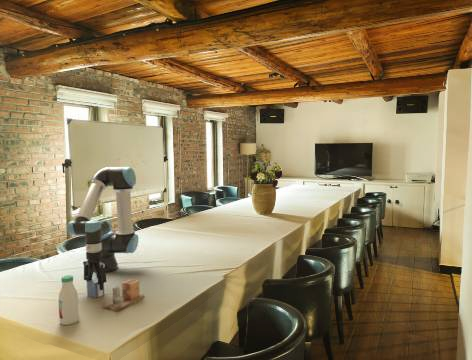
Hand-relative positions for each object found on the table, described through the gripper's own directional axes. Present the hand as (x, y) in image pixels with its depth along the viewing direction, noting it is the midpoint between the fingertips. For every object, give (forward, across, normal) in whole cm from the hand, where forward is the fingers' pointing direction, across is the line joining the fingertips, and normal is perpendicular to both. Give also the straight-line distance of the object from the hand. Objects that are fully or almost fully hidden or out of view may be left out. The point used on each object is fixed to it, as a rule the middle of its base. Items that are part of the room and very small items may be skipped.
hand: (95, 294), depth 184 cm
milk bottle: (+1, +12, -26) cm, 28 cm away
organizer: (0, +20, -1) cm, 20 cm away
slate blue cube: (0, 0, 0) cm, 0 cm away
